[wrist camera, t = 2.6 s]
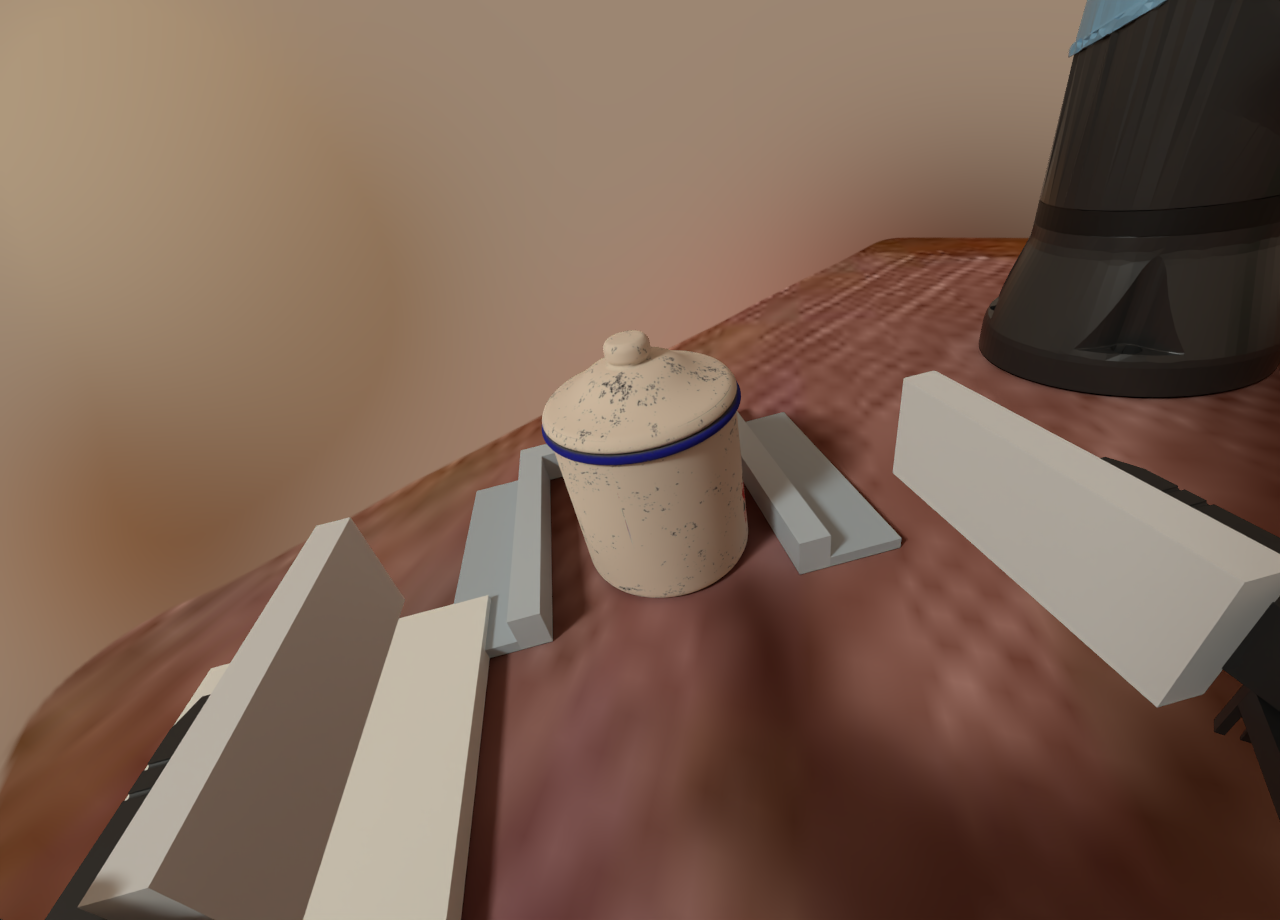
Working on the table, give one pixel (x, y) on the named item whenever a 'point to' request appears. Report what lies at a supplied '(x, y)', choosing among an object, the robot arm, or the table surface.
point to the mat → (409, 776)
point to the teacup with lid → (653, 465)
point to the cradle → (772, 471)
